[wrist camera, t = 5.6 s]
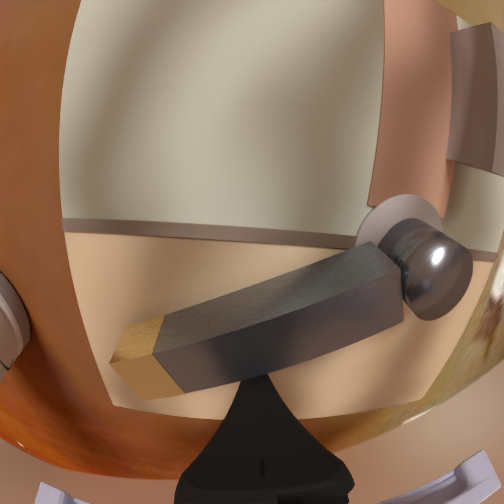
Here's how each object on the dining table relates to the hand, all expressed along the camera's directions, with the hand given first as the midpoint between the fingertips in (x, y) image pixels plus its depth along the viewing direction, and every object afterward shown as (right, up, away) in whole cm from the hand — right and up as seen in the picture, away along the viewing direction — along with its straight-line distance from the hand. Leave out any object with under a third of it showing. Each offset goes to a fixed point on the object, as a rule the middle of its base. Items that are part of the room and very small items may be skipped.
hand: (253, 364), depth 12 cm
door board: (+3, +6, -1) cm, 6 cm away
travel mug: (-16, +2, 0) cm, 16 cm away
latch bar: (+1, +3, -1) cm, 4 cm away
